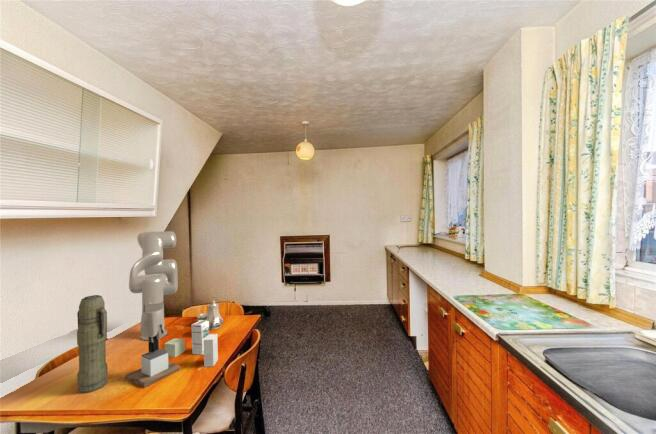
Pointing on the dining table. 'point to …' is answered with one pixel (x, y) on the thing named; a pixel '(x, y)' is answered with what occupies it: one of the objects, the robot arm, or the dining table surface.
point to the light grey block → (154, 362)
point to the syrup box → (199, 336)
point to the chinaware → (212, 316)
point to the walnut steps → (147, 380)
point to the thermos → (92, 344)
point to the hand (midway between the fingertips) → (153, 350)
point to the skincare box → (210, 350)
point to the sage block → (175, 347)
